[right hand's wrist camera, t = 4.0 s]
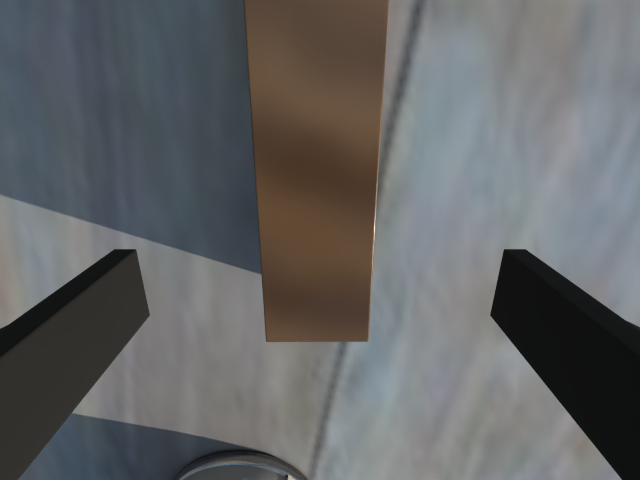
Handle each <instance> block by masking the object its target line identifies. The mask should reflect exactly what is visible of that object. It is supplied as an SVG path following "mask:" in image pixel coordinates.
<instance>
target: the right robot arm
mask: <svg viewBox="0 0 640 480" xmlns="http://www.w3.org/2000/svg"><path fill="white" fill-rule="evenodd" d="M149 316H150V314H149V310H148V305H147V300H146V295H145V290H144V286H143V281H142V276H141V271H140V266H139V262H138V257H137V252H136V249H114V250H113V251H112V252H110V253H109V254H107V255H106V256H105V257H103V258H102V259H100V260H99V261H97V262H96V263H95V264H93V265H92V266H90V267H89V268H88V269H86V270H85V271H83V272H82V273H81V274H79V275H78V276H76V277H75V278H74V279H72V280H71V281H69V282H68V283H67V284H65V285H64V286H62V287H61V288H60V289H58V290H57V291H55V292H54V293H53V294H51V295H50V296H48V297H47V298H46V299H44V300H43V301H41V302H40V303H39V304H37V305H36V306H34V307H33V308H32V309H30V310H29V311H27V312H26V313H24V314H23V315H22V316H20V317H19V318H17V319H16V320H15V321H13V322H12V323H10V324H9V325H7V326H5V327H3V328H1V329H0V480H18V479H19V478H20V476H21V475H22V474H23V473H24V471H25V470H26V469H27V468H28V466H29V465H30V464H31V463H32V461H33V460H34V459H35V458H36V456H37V455H38V454H39V453H40V451H41V450H42V449H43V448H44V446H45V445H46V444H47V443H48V441H49V440H50V439H51V438H52V436H53V435H54V434H55V433H56V432H57V430H58V429H59V428H60V427H61V425H62V424H63V423H64V422H65V420H66V419H67V418H68V417H69V415H70V414H71V413H72V412H73V410H74V409H75V408H76V407H77V405H78V404H79V403H80V402H81V400H82V399H83V398H84V397H85V395H86V394H87V393H88V392H89V390H90V389H91V388H92V387H93V385H94V384H95V383H96V382H97V380H98V379H99V378H100V377H101V375H102V374H103V373H104V372H105V370H106V369H107V368H108V367H109V365H110V364H111V363H112V362H113V360H114V359H115V358H116V357H117V355H118V354H119V353H120V352H121V350H122V349H123V348H124V347H125V345H126V344H127V343H128V342H129V340H130V339H131V338H132V337H133V336H134V334H135V333H136V332H137V331H138V329H139V328H140V327H141V326H142V324H143V323H144V322H145V321H146V319H147V318H148V317H149ZM490 316H491V317H492V318H493V319H494V321H495V322H496V323H497V324H498V326H499V327H500V328H501V329H502V331H503V332H504V333H505V334H506V336H507V337H508V338H509V339H510V340H511V342H512V343H513V344H514V345H515V347H516V348H517V349H518V350H519V352H520V353H521V354H522V355H523V357H524V358H525V359H526V360H527V362H528V363H529V364H530V365H531V367H532V368H533V369H534V370H535V372H536V373H537V374H538V375H539V377H540V378H541V379H542V380H543V382H544V383H545V384H546V385H547V387H548V388H549V389H550V390H551V392H552V393H553V394H554V395H555V397H556V398H557V399H558V400H559V402H560V403H561V404H562V405H563V407H564V408H565V409H566V410H567V412H568V413H569V414H570V415H571V417H572V418H573V419H574V420H575V422H576V423H577V424H578V425H579V427H580V428H581V429H582V430H583V432H584V433H585V434H586V435H587V436H588V438H589V439H590V440H591V441H592V443H593V444H594V445H595V446H596V448H597V449H598V450H599V451H600V453H601V454H602V455H603V456H604V458H605V459H606V460H607V461H608V463H609V464H610V465H611V466H612V468H613V469H614V470H615V471H616V473H617V474H618V475H619V476H620V478H621V479H622V480H640V327H638V326H636V325H634V324H632V323H630V322H628V321H625V320H624V319H623V318H621V317H620V316H618V315H617V314H616V313H614V312H613V311H611V310H610V309H608V308H607V307H606V306H604V305H603V304H601V303H600V302H599V301H597V300H596V299H594V298H593V297H592V296H590V295H589V294H587V293H586V292H585V291H583V290H582V289H580V288H579V287H578V286H576V285H575V284H573V283H572V282H571V281H569V280H568V279H566V278H565V277H564V276H562V275H561V274H559V273H558V272H557V271H555V270H554V269H552V268H551V267H550V266H548V265H547V264H545V263H544V262H543V261H541V260H540V259H538V258H537V257H535V256H534V255H533V254H531V253H530V252H528V251H527V250H526V249H504V252H503V257H502V262H501V266H500V271H499V276H498V281H497V286H496V290H495V295H494V300H493V305H492V310H491V314H490ZM174 480H307V478H306V477H305V476H304V475H303V474H302V473H301V472H300V471H298V470H297V469H296V468H294V467H293V466H291V465H290V464H288V463H286V462H284V461H282V460H280V459H277V458H275V457H272V456H268V455H265V454H260V453H255V452H246V451H230V452H221V453H216V454H212V455H208V456H205V457H203V458H200V459H198V460H196V461H194V462H192V463H191V464H189V465H188V466H186V467H185V468H184V469H183V470H182V471H181V472H179V474H178V475H177V476H176V478H175V479H174Z"/></svg>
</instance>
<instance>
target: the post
mask: <svg viewBox="0 0 640 480" xmlns="http://www.w3.org/2000/svg"><path fill="white" fill-rule="evenodd" d="M388 2H389V0H244V15H245V30H246V45H247V60H248V75H249V90H250V105H251V121H252V136H253V151H254V166H255V181H256V196H257V211H258V226H259V241H260V257H261V272H262V287H263V302H264V317H265V332H266V342H367V341H368V339H369V322H370V305H371V289H372V272H373V255H374V238H375V221H376V204H377V188H378V171H379V154H380V137H381V120H382V103H383V86H384V70H385V53H386V36H387V19H388Z"/></svg>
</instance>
